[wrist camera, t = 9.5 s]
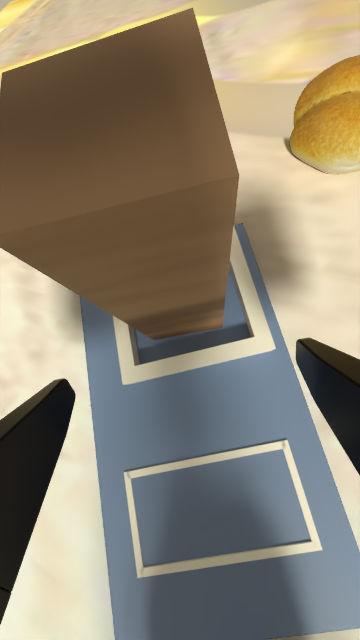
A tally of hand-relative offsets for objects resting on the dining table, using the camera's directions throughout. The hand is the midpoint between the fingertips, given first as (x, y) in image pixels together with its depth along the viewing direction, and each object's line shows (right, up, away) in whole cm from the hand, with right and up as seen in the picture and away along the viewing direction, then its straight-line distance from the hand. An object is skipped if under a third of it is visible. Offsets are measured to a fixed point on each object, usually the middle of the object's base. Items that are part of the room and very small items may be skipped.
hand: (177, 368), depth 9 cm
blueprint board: (+1, -4, +7) cm, 8 cm away
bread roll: (+14, +18, +11) cm, 25 cm away
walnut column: (0, +3, +8) cm, 9 cm away
